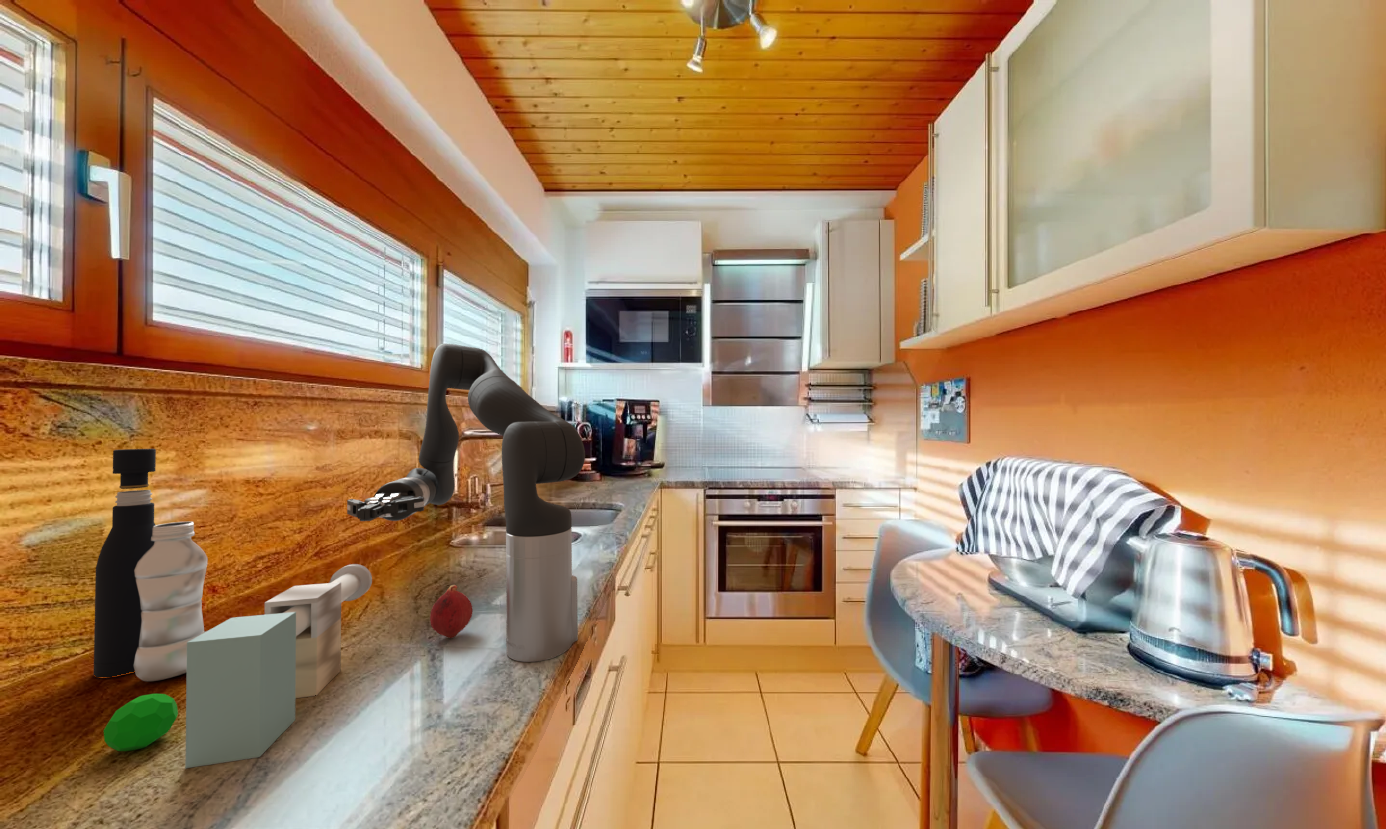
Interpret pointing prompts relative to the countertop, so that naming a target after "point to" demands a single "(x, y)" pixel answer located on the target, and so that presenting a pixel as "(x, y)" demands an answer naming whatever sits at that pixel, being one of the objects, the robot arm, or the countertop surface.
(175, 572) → the plastic bottle
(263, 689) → the socket
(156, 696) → the polyhedron
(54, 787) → the countertop surface
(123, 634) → the wine bottle
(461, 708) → the countertop surface
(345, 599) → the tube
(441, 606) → the onion
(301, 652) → the sleeve stand
